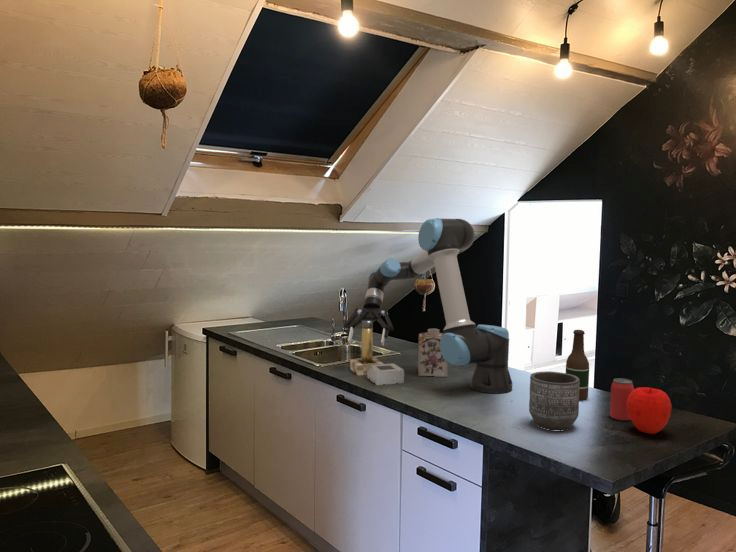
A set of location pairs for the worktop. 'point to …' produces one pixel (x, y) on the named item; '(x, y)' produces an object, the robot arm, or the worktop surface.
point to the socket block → (385, 374)
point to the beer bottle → (579, 364)
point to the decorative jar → (431, 355)
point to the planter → (554, 399)
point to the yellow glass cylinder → (367, 341)
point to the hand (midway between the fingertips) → (365, 343)
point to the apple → (648, 409)
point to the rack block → (362, 365)
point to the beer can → (620, 398)
